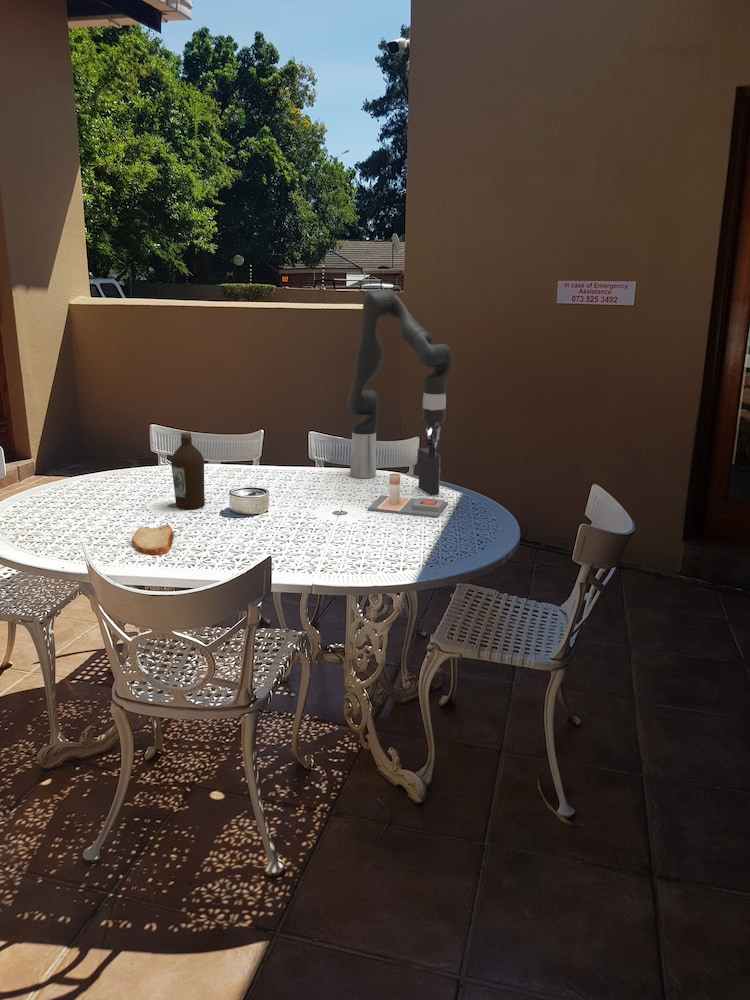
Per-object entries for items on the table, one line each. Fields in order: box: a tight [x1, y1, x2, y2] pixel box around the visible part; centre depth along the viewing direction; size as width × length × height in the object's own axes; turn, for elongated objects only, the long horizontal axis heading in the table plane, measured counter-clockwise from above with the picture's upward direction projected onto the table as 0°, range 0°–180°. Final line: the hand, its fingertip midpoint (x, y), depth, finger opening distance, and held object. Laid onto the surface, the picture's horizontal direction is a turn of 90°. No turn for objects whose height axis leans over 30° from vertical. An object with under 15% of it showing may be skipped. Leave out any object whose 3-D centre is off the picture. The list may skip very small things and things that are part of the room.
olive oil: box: [170, 431, 206, 511], centre depth 248 cm, size 11×11×25 cm
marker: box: [388, 473, 401, 505], centre depth 253 cm, size 4×4×10 cm
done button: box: [422, 498, 435, 505], centre depth 251 cm, size 4×4×2 cm
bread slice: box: [131, 523, 175, 556], centre depth 218 cm, size 18×18×4 cm
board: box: [367, 494, 449, 519], centre depth 253 cm, size 24×16×2 cm, turn 73°
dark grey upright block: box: [417, 447, 441, 496], centre depth 270 cm, size 11×4×15 cm, turn 22°
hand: (432, 457), depth 249 cm, fingers closed
